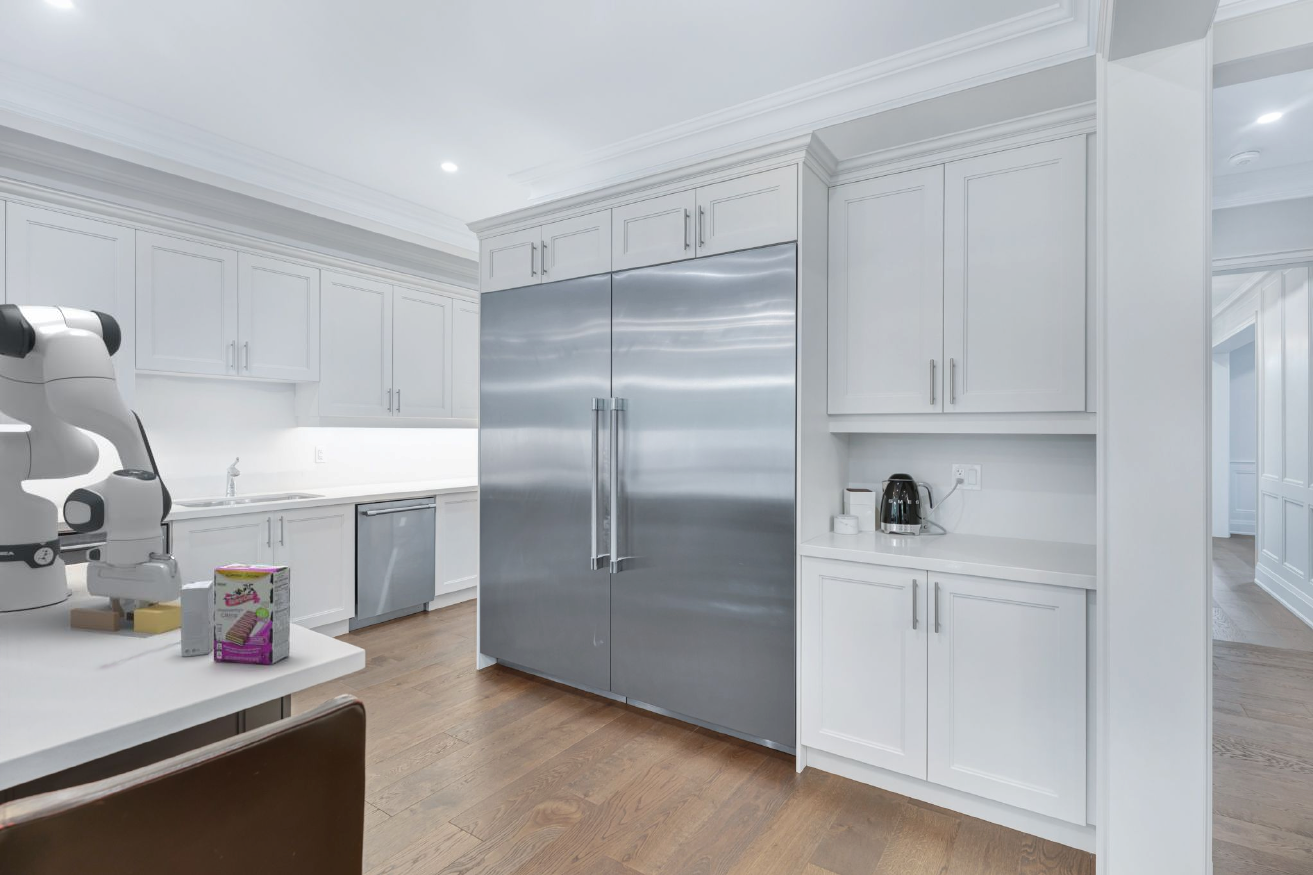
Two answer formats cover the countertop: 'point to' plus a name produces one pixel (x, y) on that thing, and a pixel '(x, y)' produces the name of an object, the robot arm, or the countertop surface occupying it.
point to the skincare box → (197, 618)
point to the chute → (106, 621)
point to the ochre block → (158, 618)
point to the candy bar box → (251, 613)
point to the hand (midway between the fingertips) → (134, 620)
